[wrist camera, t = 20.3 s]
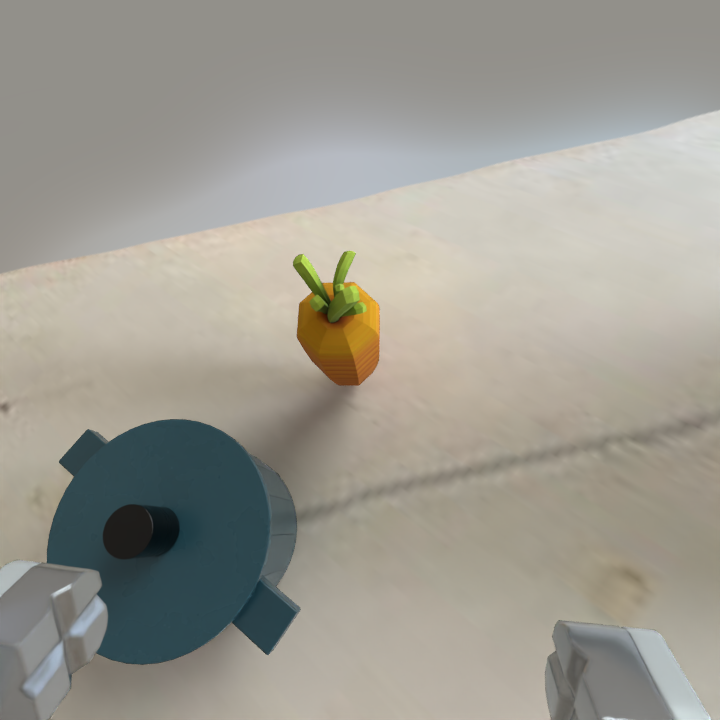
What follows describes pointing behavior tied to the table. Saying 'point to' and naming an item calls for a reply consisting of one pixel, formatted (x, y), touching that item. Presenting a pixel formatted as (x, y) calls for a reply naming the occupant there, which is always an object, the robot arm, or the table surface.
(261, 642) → the pot
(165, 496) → the pot lid
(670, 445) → the table surface
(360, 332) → the carrot
